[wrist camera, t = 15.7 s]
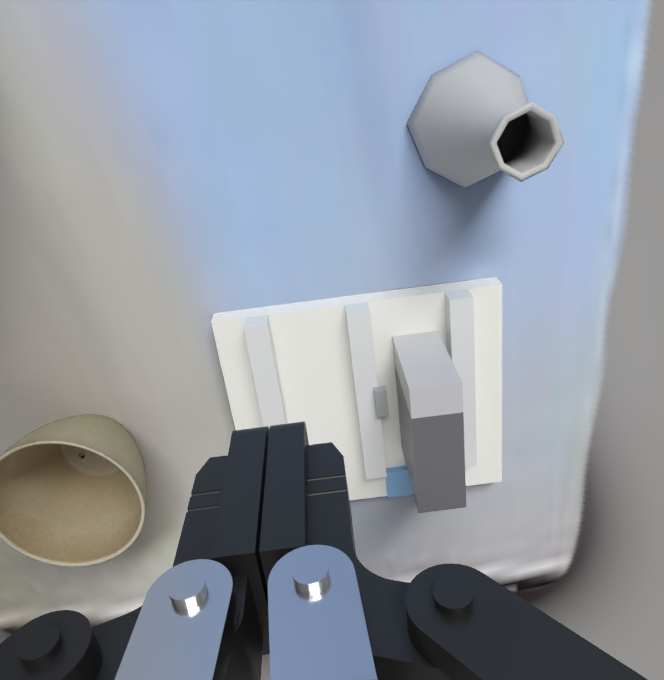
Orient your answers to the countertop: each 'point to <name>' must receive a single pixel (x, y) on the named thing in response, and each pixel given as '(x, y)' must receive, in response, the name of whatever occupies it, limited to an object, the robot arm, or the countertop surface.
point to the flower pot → (73, 492)
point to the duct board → (366, 374)
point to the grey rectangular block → (431, 421)
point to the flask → (482, 124)
